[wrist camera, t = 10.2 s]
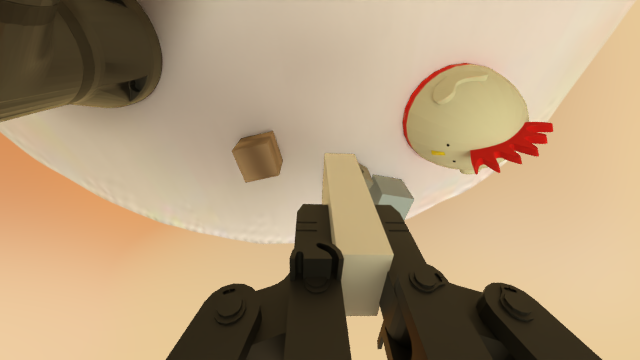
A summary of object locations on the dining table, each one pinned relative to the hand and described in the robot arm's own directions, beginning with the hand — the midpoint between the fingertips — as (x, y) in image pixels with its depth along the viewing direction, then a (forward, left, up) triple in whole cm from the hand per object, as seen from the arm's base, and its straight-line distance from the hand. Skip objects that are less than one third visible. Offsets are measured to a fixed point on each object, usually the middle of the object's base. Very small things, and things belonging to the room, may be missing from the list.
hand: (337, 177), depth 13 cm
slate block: (+11, -16, -24) cm, 31 cm away
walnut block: (-9, -9, -24) cm, 27 cm away
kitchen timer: (+19, -3, -24) cm, 31 cm away
